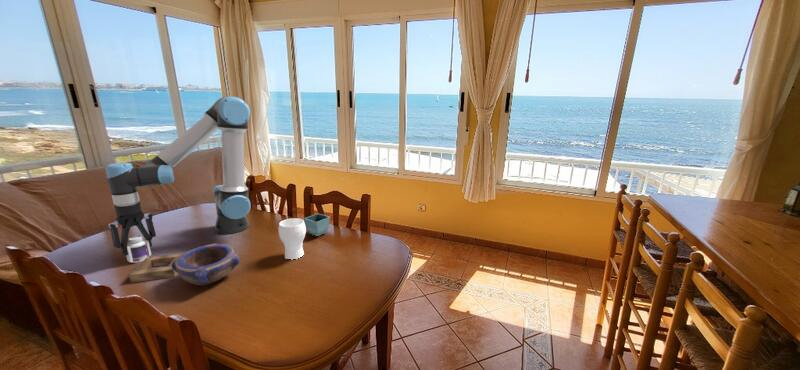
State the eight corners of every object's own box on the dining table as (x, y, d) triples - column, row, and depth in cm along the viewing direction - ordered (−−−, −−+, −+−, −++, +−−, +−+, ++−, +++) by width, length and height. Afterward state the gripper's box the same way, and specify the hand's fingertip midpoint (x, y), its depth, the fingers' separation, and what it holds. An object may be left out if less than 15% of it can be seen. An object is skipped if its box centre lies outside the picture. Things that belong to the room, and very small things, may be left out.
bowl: (195, 300, 96) (190, 272, 93) (169, 283, 105) (164, 257, 103) (248, 275, 111) (244, 250, 108) (221, 261, 120) (218, 238, 117)
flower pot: (331, 233, 147) (330, 216, 145) (317, 240, 140) (316, 222, 138) (318, 229, 152) (317, 213, 150) (304, 235, 145) (303, 218, 143)
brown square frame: (186, 259, 121) (185, 253, 120) (174, 276, 109) (173, 269, 108) (147, 264, 117) (146, 257, 116) (130, 282, 105) (129, 275, 104)
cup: (312, 255, 126) (310, 222, 122) (288, 264, 118) (285, 229, 114) (299, 247, 133) (297, 215, 129) (276, 255, 125) (273, 222, 121)
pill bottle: (152, 257, 122) (147, 236, 119) (137, 264, 117) (131, 241, 115) (143, 255, 124) (138, 234, 121) (128, 261, 119) (122, 239, 116)
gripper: (150, 195, 124) (160, 246, 130) (90, 208, 108) (105, 266, 114) (160, 198, 121) (170, 250, 127) (100, 212, 105) (115, 271, 111)
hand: (139, 258), depth 120 cm, fingers closed on pill bottle, 5 cm apart
